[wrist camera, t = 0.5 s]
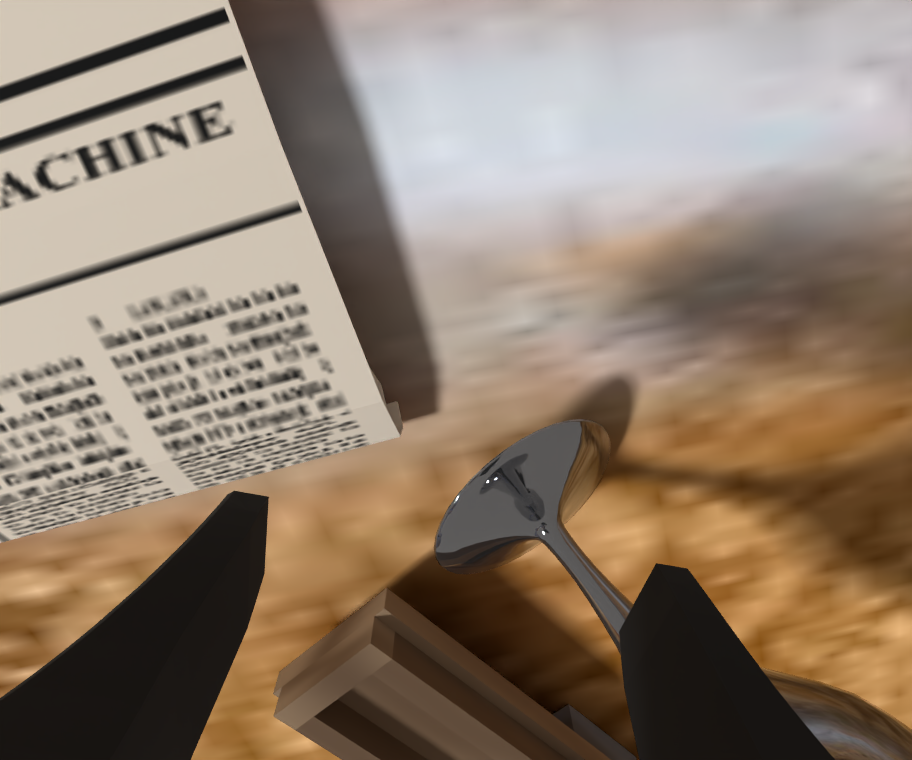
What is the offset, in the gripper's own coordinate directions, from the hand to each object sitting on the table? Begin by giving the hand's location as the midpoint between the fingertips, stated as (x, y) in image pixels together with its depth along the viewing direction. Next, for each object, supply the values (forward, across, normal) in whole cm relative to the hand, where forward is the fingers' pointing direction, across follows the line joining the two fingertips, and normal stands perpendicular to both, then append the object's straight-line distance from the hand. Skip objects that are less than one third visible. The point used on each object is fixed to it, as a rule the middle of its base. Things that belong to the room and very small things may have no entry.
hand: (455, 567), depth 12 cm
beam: (+8, -9, +20) cm, 23 cm away
